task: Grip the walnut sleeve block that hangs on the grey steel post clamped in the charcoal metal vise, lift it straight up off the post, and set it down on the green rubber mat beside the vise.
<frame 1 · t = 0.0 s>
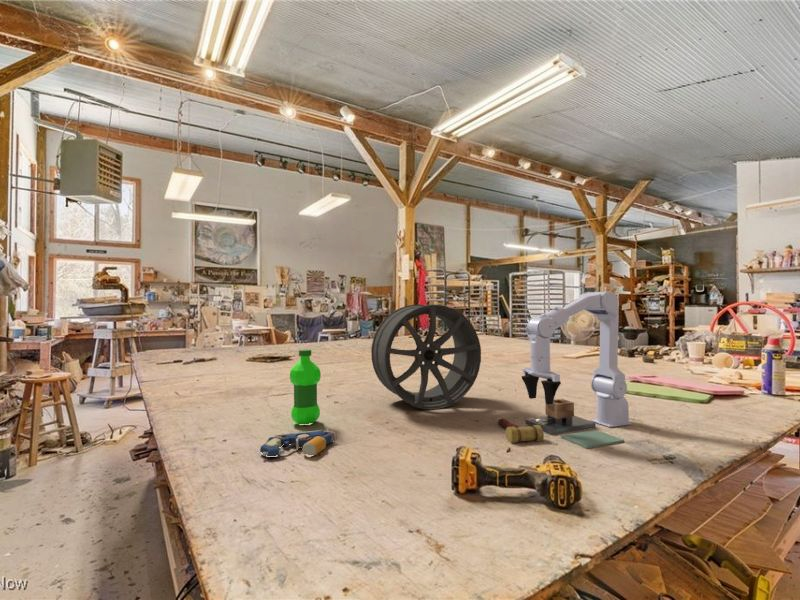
hand: (540, 401, 125), 10 cm above the table, tool pointing down, fingers open, 7 cm apart
vise: (559, 425, 133), on the table
gavel: (512, 433, 127), on the table
plastic bottle: (305, 424, 138), on the table
mat: (591, 439, 119), on the table
car wheel rim: (425, 404, 163), on the table
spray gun: (299, 451, 114), on the table
sleeve block: (559, 415, 133), point 3 cm above the table, touching vise
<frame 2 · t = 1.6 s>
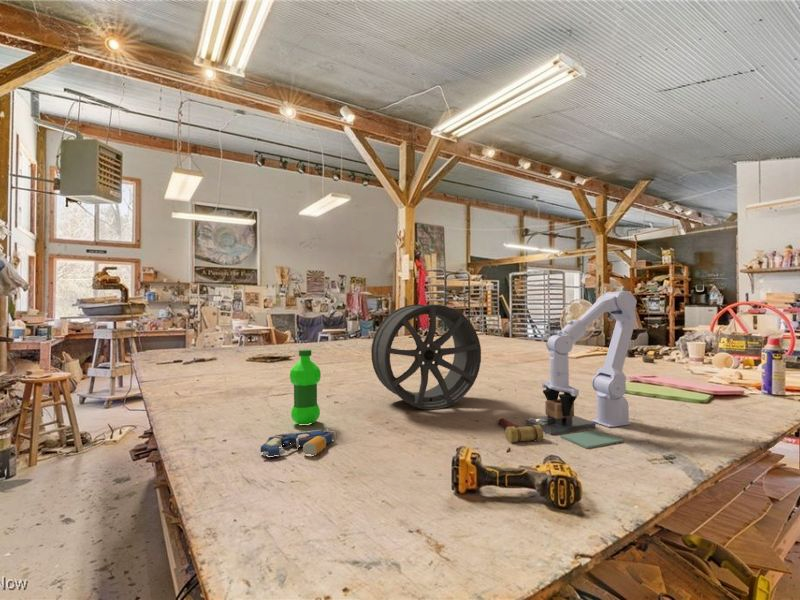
hand: (559, 413, 133), 4 cm above the table, tool pointing down, fingers closed on sleeve block, 5 cm apart
sleeve block: (559, 415, 133), point 3 cm above the table, touching gripper, vise
everything else where it was.
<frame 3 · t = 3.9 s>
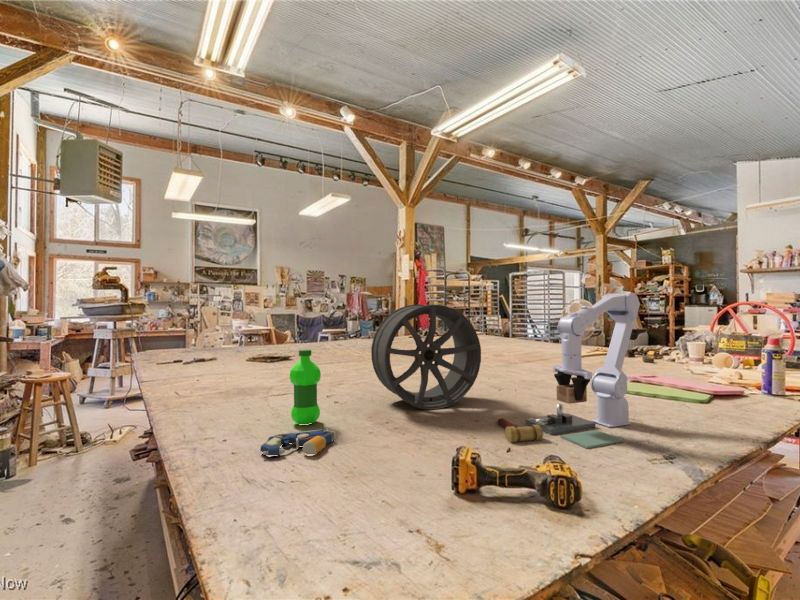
hand: (571, 398, 127), 10 cm above the table, tool pointing down, fingers closed on sleeve block, 5 cm apart
sleeve block: (571, 400, 127), point 10 cm above the table, touching gripper
everything else where it was.
when the fingers open (2 cm above the table, at t = 6.5 s): sleeve block stays where it is, resting on mat.
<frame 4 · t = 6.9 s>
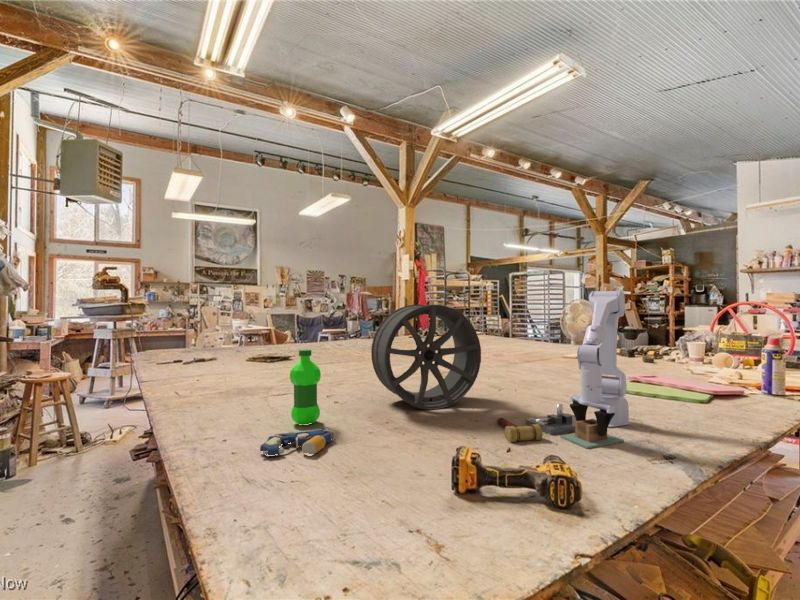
hand: (591, 431, 119), 2 cm above the table, tool pointing down, fingers open, 7 cm apart
sleeve block: (591, 437, 119), point 1 cm above the table, touching mat
everything else where it was.
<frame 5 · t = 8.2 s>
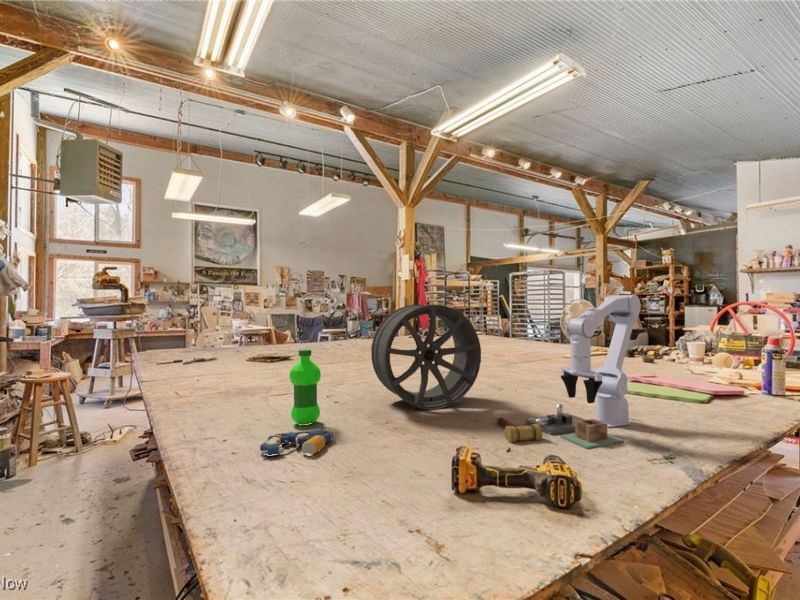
hand: (581, 400, 127), 10 cm above the table, tool pointing down, fingers open, 7 cm apart
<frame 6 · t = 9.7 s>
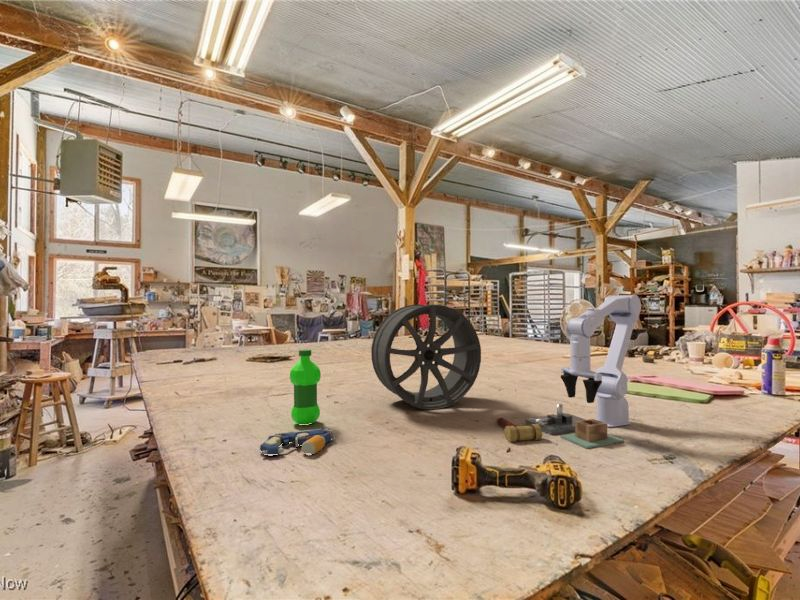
hand: (580, 399, 127), 10 cm above the table, tool pointing down, fingers open, 7 cm apart
at the end: sleeve block inside the target area on the mat (0.2 cm from its centre), point 0.6 cm above the mat's base; sleeve block tilted 0°; sleeve block touching mat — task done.
